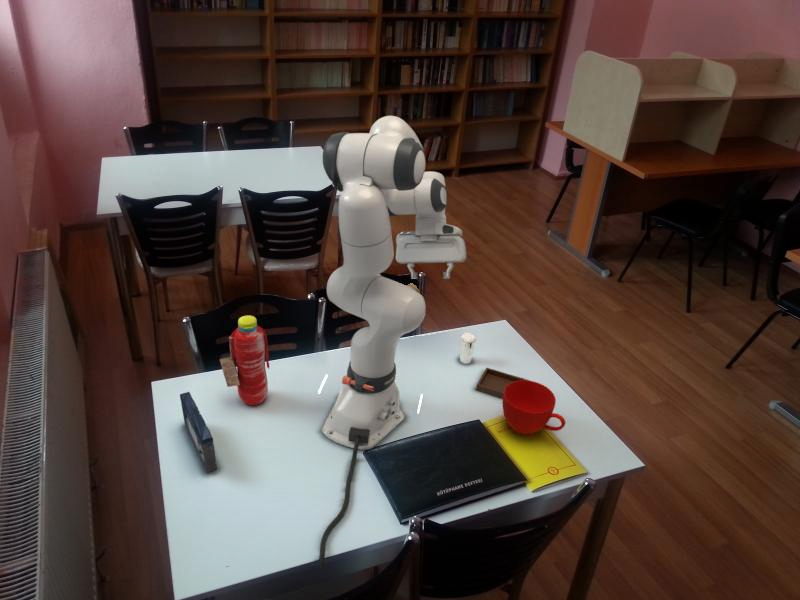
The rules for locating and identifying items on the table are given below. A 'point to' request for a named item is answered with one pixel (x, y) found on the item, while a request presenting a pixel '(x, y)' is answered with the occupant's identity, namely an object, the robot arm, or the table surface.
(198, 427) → the vhs cassette tape
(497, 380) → the tray
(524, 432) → the ceramic cup
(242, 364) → the water bottle
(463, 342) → the milkshake
